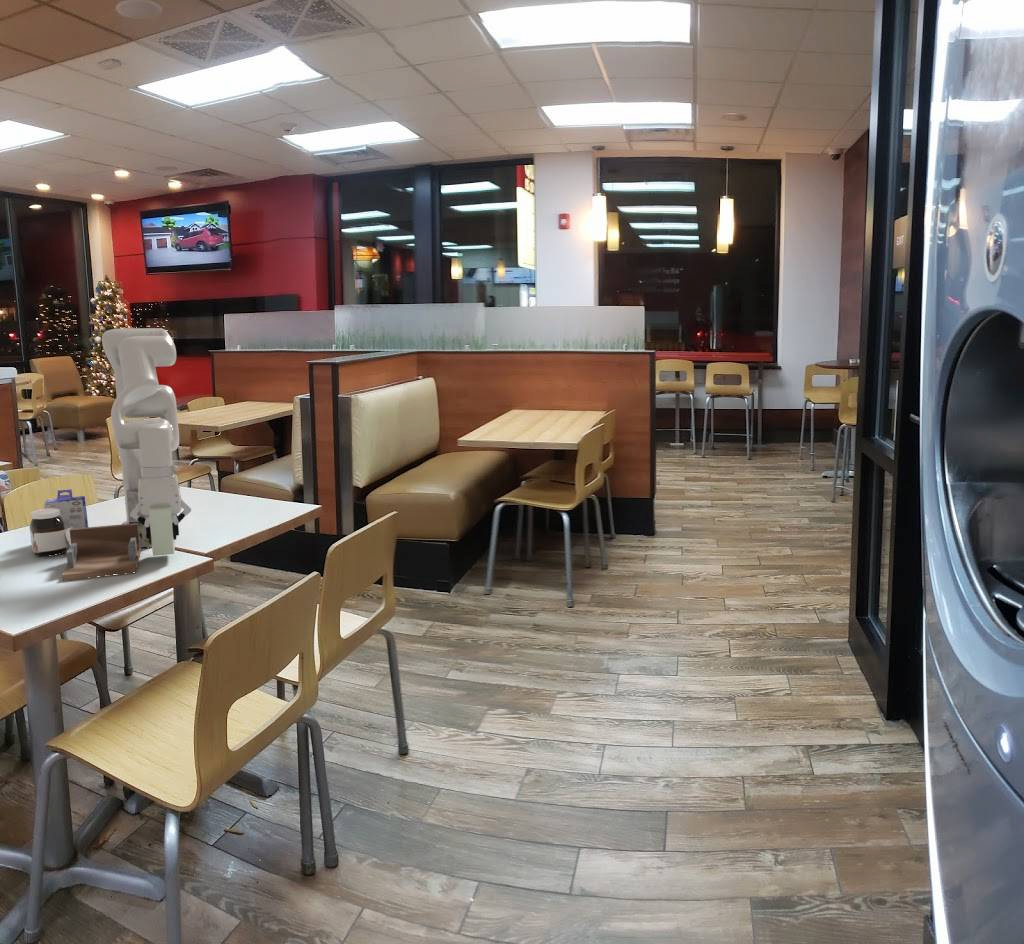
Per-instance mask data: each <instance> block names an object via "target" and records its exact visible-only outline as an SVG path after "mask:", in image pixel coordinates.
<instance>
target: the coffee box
mask: <svg viewBox="0 0 1024 944" xmlns="http://www.w3.org/2000/svg"><path fill="white" fill-rule="evenodd" d="M126 493H127V505H128V517H129V524H134V523H138V530H139V540H140V548H142V547H150V548H149V549H152V548H151V547H152V542H150V538H147V533H146V527H145V526H144V525H143V524H142V523H140V522H139V521H138V520H136V519H134V518H132V517H131V516H130V513H131V512H132V510H133V509H134V508H135V507H136V505H137V504H138V503H139V502H138V487H137V488H134V489H131V490H127V491H126ZM138 514H139V515H140V516H142V515H141V514H140V512H139V511H138ZM143 517H144V518H145V519H146V516H143Z"/></svg>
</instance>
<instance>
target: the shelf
mask: <svg viewBox="0 0 1024 944" xmlns="http://www.w3.org/2000/svg"><path fill="white" fill-rule="evenodd" d="M70 538H71V546H70V545H69V547H68V549H67V550H66V560H67V562H66V563H67V565H66V568H65V569H64V571H63V573H62V575H61V576H62V581H63V582H65V581H64V580H68V581H74V580H73V579H77V580H82V579H81V578H87V579H89V578H88V577H96V578H98V577H97V576H105V575H113V574H125V573H133V572H136V573H137V570H136V568H137V569H138V566H139V562H138V561H140V559H139V558H141V555H140V554H142V553H141V552H142V551H141V547H140V540H139V530H138V523H134V524H122V523H121V524H112V525H99V526H90V527H89V526H88V527H87V528H75V529H70ZM137 565H138V566H137ZM125 575H126V574H125Z"/></svg>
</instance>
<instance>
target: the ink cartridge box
mask: <svg viewBox="0 0 1024 944" xmlns="http://www.w3.org/2000/svg"><path fill="white" fill-rule="evenodd" d="M72 491H73V489H62V490H61V489H60V490H57V496H56V497H57V498H49V499H47V500H46V501H45V502H44V509H48V508H57V509H60V517H61V518H62V520H63V522H64V525H65V530H66V529H68V528H71V527H72V528H74V529H75V528H87V527H89V522H88V514H87V513H88V512H87V502H86V497H85V495H81V496H73V492H72ZM63 493H67V494H63ZM66 539H67V537H66ZM67 543H69V542H68V540H67Z"/></svg>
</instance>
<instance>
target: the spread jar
mask: <svg viewBox="0 0 1024 944" xmlns="http://www.w3.org/2000/svg"><path fill="white" fill-rule="evenodd" d="M30 516H31V517H30V518H31V520H30V522H29V534H30V540H31V541H30V542H31V548H32V551H33V553H34V555H35V556H36V555H38V556H37V557H41V556H45V557H50V556H49V555H54V556H56V555H55V554H58V555H60V554H59V553H61V554H63V553H65V552H67V550H68V549H67V548H68V544H69V547H70V546H71V538H70V529H74V528H72V527H71V528H68V529H66V530H65V525H64V522H63V520H62V518H61V517H60V509H57V508H48V509H45V508H42V509H41V508H40V509H36V510H33V511H31V512H30ZM66 537H67V539H66ZM67 540H68V542H67ZM62 552H63V553H62Z"/></svg>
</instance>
